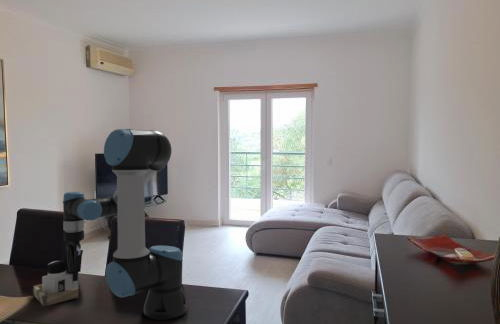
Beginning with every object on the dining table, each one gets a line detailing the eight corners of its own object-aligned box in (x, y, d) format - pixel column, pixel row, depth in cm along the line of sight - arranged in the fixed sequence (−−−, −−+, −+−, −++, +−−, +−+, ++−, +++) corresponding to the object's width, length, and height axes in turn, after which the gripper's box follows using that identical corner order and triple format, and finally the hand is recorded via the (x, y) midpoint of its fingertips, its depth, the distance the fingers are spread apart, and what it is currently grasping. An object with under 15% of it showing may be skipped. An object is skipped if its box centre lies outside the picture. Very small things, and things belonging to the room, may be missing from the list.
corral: (78, 297, 143) (78, 288, 143) (43, 306, 134) (43, 297, 134) (66, 287, 153) (66, 278, 153) (33, 294, 145) (33, 286, 145)
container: (72, 293, 147) (72, 261, 146) (54, 300, 140) (54, 266, 139) (60, 289, 150) (59, 258, 150) (41, 296, 143) (41, 263, 143)
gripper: (89, 231, 145) (89, 290, 146) (78, 226, 155) (78, 281, 156) (69, 234, 140) (69, 295, 141) (58, 228, 150) (59, 285, 151)
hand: (74, 287), depth 148 cm, fingers closed
